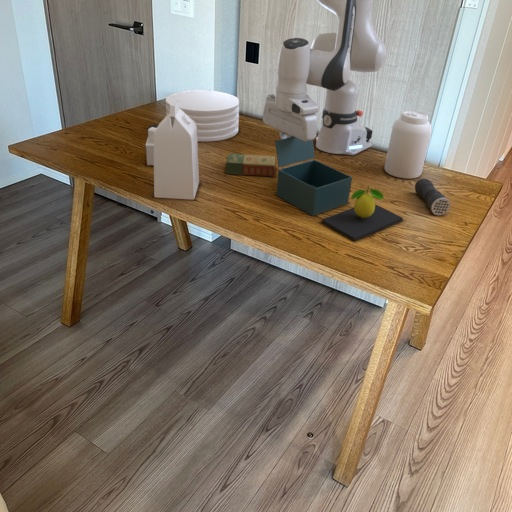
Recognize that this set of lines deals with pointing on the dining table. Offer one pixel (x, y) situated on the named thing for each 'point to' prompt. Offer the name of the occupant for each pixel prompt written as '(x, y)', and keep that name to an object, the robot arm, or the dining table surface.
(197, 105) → the plate stack
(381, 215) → the mat
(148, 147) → the medicine bottle
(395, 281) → the dining table surface
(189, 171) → the milk
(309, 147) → the flap
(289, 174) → the box
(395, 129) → the white lidded jar
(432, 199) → the flashlight
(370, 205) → the lemon
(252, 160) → the carton
